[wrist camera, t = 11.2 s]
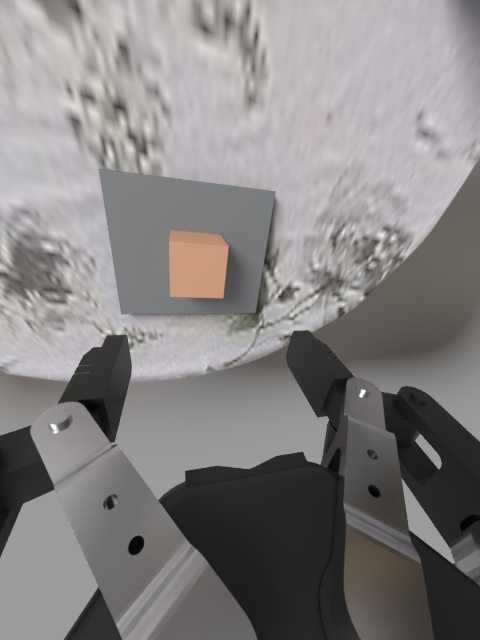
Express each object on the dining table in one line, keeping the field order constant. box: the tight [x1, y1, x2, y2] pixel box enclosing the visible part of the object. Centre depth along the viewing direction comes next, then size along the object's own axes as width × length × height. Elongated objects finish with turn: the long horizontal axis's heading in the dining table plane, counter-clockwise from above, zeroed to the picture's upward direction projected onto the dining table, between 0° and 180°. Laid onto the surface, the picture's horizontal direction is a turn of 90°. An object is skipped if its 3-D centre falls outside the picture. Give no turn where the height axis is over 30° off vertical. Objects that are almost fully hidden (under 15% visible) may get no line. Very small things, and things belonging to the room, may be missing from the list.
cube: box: [169, 230, 229, 298], centre depth 23 cm, size 5×5×5 cm
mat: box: [99, 169, 275, 314], centre depth 26 cm, size 16×14×2 cm
